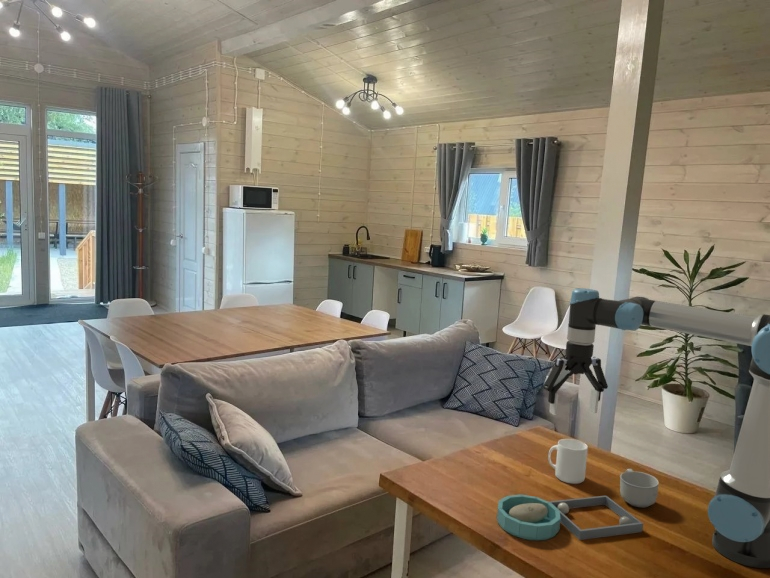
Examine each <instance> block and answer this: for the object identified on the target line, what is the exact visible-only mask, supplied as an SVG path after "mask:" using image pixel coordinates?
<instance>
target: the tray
mask: <svg viewBox="0 0 770 578" xmlns="http://www.w3.org/2000/svg"><path fill="white" fill-rule="evenodd" d="M548 502H550V503H552V504H553V505H554V506H555V507H556V508H557V509H558V505H559V504H560V503H566V504H567V505H568V506H569V509H576V508H586V507H595V506H604V505H605V506H606V507H607V508H609V509H610V510H611V511H612V512H613V513H615V514H616V515H618V516H619V517H620V518H621V517H623V516H626V517H628V518H629V519H630V520H631V524H623V525H620V524H616V525H608V526H599V527H592V528H591V527H590V528H584V529H581V528H580V527H579V526H578V525H576V523H575V522H573V521H572V520H571V519H570V518H568V516H567V515H566V514H563V513H562V512H561V511H560V510H559V509H558V510H559V511H560V524H562V525H563V526H564V527H565V528H566V529H567V530H568V531H569V532H570V533H571V534H572V535H573V536H575V537H576V538H577V539H578V540H579V541H581V540H582V541H583V540H590V539H597V538H606V537H613V536H619V535H620V536H621V535H628V534H636V533H643V530H644V529H643V528H644V523H643V522H642V521H641V520H640V519H638V518H636V517H635V516H634V515H632V513H630V512H629V511H628V510H627V509H624V508H623V507H622V506H621V505H619V504H618V503H617V502H615V501H614V500H613V499H611V498H610V497H609V496H608V495H600V496H599V495H597V496H589V497H579V498H578V497H577V498H569V499H560V500H559V499H558V500H552V501H551V500H549V501H548Z"/></svg>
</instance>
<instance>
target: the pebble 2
mask: <svg viewBox="0 0 770 578" xmlns="http://www.w3.org/2000/svg"><path fill="white" fill-rule="evenodd" d="M618 521H619V522H618V523H619V525H623V524H631V520H630V519H629V518H628V517H626V516H623V517H620V518H619V520H618Z"/></svg>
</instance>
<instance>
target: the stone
mask: <svg viewBox="0 0 770 578" xmlns="http://www.w3.org/2000/svg"><path fill="white" fill-rule="evenodd" d="M547 514H548V509H547V507H546V506H544V505H543V504H539V503H527V504H520V505H517V506H515V507H513V508H511V510H510V511H509V516H511V517H513V518H515V519H517V520H519V521H522V522H528V523H535V522H538V521H541V520H543V519H544V518H545V517H546V516H547Z"/></svg>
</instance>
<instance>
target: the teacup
mask: <svg viewBox="0 0 770 578" xmlns="http://www.w3.org/2000/svg"><path fill="white" fill-rule="evenodd" d="M619 478H620V480H619V492H620V496H621V498H622V499H623V500H624V501H625V502H626V503H627V504H629V506H633V507H635V508H641V509H642V508H648V507H649V506H652V505H654V504H655V503H656V502H657V499H658V493H659V492H658V491H659V485H660V482H659V480H658V478H656V477H655V476H653V475H651V474H649V473H646V472H642V471H636V470H635V471H634V470H633V469H632V468H627V469H626V470H625V472H622V473H621V474H620V475H619Z"/></svg>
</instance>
